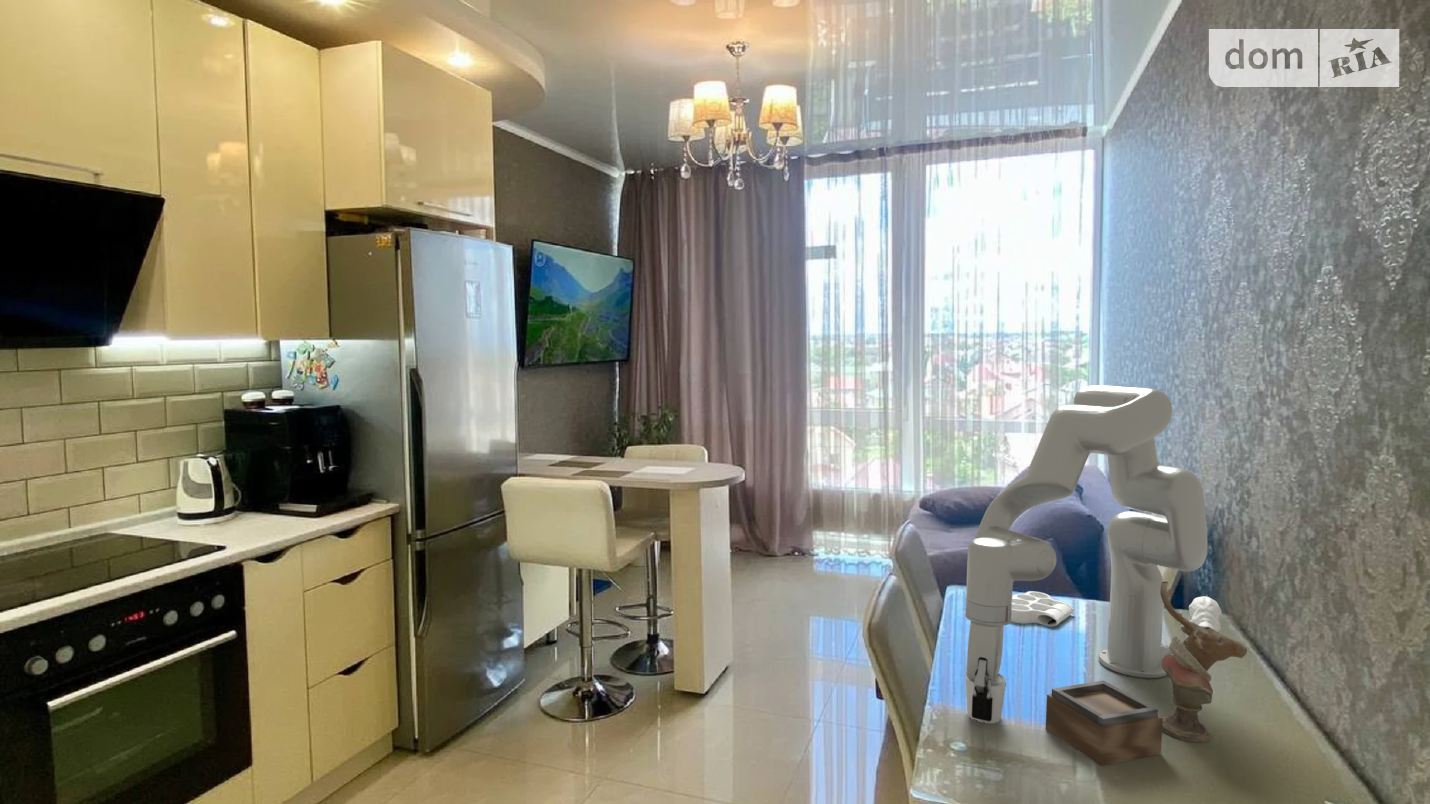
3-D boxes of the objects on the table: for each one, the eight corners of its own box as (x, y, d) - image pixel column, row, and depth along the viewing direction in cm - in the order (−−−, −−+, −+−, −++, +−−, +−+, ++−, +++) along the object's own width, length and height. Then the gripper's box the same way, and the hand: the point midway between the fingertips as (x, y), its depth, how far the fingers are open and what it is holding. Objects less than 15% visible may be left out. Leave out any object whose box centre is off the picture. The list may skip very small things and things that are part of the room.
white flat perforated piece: (1051, 633, 175) (989, 617, 185) (1077, 614, 188) (1018, 600, 198) (1052, 619, 174) (989, 603, 184) (1078, 600, 188) (1018, 587, 198)
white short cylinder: (1008, 727, 130) (1009, 687, 130) (966, 722, 132) (967, 683, 131) (1001, 708, 137) (1003, 670, 136) (961, 704, 138) (963, 666, 138)
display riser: (1101, 718, 134) (1103, 678, 133) (1160, 753, 122) (1163, 710, 122) (1045, 728, 130) (1047, 687, 129) (1101, 765, 118) (1103, 720, 118)
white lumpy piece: (1222, 596, 174) (1225, 616, 164) (1219, 631, 175) (1222, 654, 165) (1189, 591, 177) (1190, 611, 167) (1187, 626, 179) (1188, 647, 168)
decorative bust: (1262, 737, 125) (1242, 586, 125) (1198, 756, 122) (1178, 602, 122) (1206, 712, 136) (1187, 573, 136) (1146, 729, 133) (1126, 587, 133)
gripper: (973, 592, 142) (969, 686, 144) (957, 622, 127) (953, 726, 128) (1016, 599, 139) (1012, 695, 140) (1005, 630, 124) (1001, 737, 125)
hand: (984, 709), depth 134 cm, fingers closed on white short cylinder, 6 cm apart
